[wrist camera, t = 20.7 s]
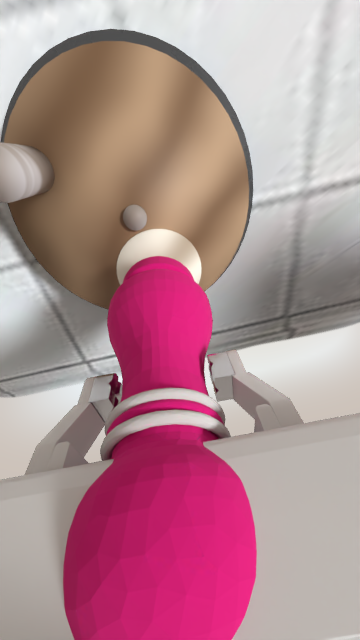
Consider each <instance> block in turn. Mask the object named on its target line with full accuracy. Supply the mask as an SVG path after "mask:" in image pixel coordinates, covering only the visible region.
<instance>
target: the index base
mask: <svg viewBox="0 0 360 640" xmlns="http://www.w3.org/2000/svg"><path fill="white" fill-rule="evenodd" d="M100 41H125V42H130V43H135V44H139V45H144V46H148V47H150V48H152V49H155V50H157V51H160V52H162V53H165V54H167V55H169V56H170V57H172V58H174V59H175V60H177V61H178V62H180V63H182V64H183V65H185V66H186V67H187V68H189V69H190V70H191V71H192V72H193V73H194V74H196V75H197V76H198V77H199V78H200V79H201V80H203V82H204V83H205V84H206V85H207V86H208V87H209V89H210V90H211V91H212V92H213V93H214V94H215V95H216V97H217V98H218V100H219V101H220V103H221V104H222V106H223V107H224V109H225V110H226V112H227V113H228V115H229V117H230V119H231V121H232V123H233V125H234V127H235V129H236V131H237V134H238V137H239V140H240V142H241V145H242V148H243V151H244V156H245V161H246V165H247V170H248V182H249V206H248V213H247V220H246V224H245V228H244V232H243V235H242V238H241V241H240V243H239V246H238V248H237V250H236V252H235V254H234V256H233V258H232V260H231V262H232V261H233V259H234V257H235V255H236V254H237V252H238V250H239V248H240V246H241V243H242V241H243V239H244V236H245V233H246V230H247V226H248V223H249V219H250V213H251V208H252V197H253V175H252V166H251V159H250V153H249V149H248V145H247V142H246V138H245V135H244V132H243V129H242V127H241V124H240V122H239V120H238V117H237V115H236V113H235V111H234V109H233V107H232V106H231V104H230V102H229V101H228V99H227V97H226V95H225V94H224V92H223V91H222V90H221V89H220V87H219V86H218V85H217V83H216V82H215V81H214V79H213V78H212V77H211V76H210V75H209V74H208V73H207V72H206V71H205V70H204V69H203V68H202V67H201V66H200V65H199V64H198V63H197V62H196V61H195V60H193V59H192V58H190V57H189V56H188V55H186V54H185V53H183V52H182V51H181V50H179V49H178V48H176V47H175V46H172V45H170V44H168V43H166V42H164V41H162V40H160V39H158V38H156V37H153V36H150V35H146V34H142V33H139V32H135V31H128V30H117V29H107V30H98V31H90V32H86V33H83V34H80V35H77V36H74V37H71V38H68V39H67V40H65V41H63V42H61V43H60V44H58V45H56V46H55V47H53V48H51V49H50V50H48V51H47V52H46V53H45V54H44V55H43V56H42V57H41V58H40V59H38V60H37V61H36V62H35V63H34V64H33V65H32V66H31V68H30V69H29V70H28V72H27V73H26V74H25V76H24V77H23V78H22V80H21V81H20V83H19V85H18V87H17V89H16V91H15V93H14V95H13V97H12V99H11V101H10V104H9V107H8V110H7V113H6V116H5V120H4V124H3V131H2V137H1V142H2V143H4V138H5V133H6V129H7V126H8V122H9V118H10V115H11V113H12V110H13V108H14V106H15V104H16V101H17V99H18V97H19V96H20V94H21V93H22V91H23V90H24V88H25V87H26V85H27V84H28V82H29V81H30V79H31V78H32V77H33V76H34V75H35V74H36V73H37V72H38V71H39V70H40V69H41V68H42V67H43V66H44V65H45V64H47V63H48V62H50V61H51V60H53V59H54V58H56V57H57V56H59V55H60V54H62V53H64V52H66V51H68V50H71V49H73V48H76V47H78V46H81V45H85V44H90V43H95V42H100ZM8 206H9V204H8ZM9 208H10V207H9ZM14 222H15V221H14ZM231 262H230V263H229V265H230V264H231ZM229 265H228V266H229ZM228 266H227V268H228ZM227 268H226V269H227ZM226 269H225V271H226ZM225 271H224V272H225ZM224 272H223V273H224ZM223 273H222V274H223ZM222 274H221V275H222ZM221 275H220V276H221ZM219 278H220V277H219ZM219 278H218V279H219ZM218 279H217V280H218ZM217 280H216V281H217ZM216 281H215V282H216ZM215 282H214V283H215ZM214 283H213V284H214ZM213 284H212V285H213Z"/></svg>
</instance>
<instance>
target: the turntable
mask: <svg viewBox="0 0 360 640" xmlns="http://www.w3.org/2000/svg"><path fill="white" fill-rule="evenodd" d="M0 202H3V203H8V204H9V207H10V211H11V214H12V216H13V219H14V221H15V224H16V226H17V228H18V231H19V232H20V234H21V236H22V238H23V240H24V242H25V243H26V245H27V247H28V248H29V250H30V251H31V252H32V254H33V255H34V257H35V258H36V260H37V261H38V262H39V263H40V264H41V265H42V267H43V268H44V269H45V270H46V271H47V272H48V273H49V274H50V275H51V276H52V277H53V278H54V279H55V280H56V281H57V282H59V283H60V284H61V285H63V286H64V287H65V288H66V289H68V290H69V291H71V292H72V293H74V294H75V295H77V296H79V297H80V298H82V299H84V300H86V301H88V302H90V303H92V304H95V305H98V306H100V307H103V308H106V309H109V306H110V302H111V299H112V297H113V295H114V294H115V292H116V290H117V289H118V288H119V286H120V285H121V284H122V283H123V280H124V277H125V275H126V273H127V272H128V271H129V269H130V268H131V267H132V266H133V265H134V264H136V263H137V262H139V261H140V260H142V259H145V258H148V257H153V256H164V257H169V258H172V259H175V260H177V261H179V262H181V263H182V264H183V265H184V266H185V267H187V269H188V270H189V271H190V272H191V274H192V276H193V278H194V281H195V282H196V283H197V284H199V286H200V287H201V288H202V289H203V291H205V290H207V289H208V288H209V287H210V286H211V285H212V284H213V283H214V282H215V281H216V280H217V279H218V278H219V277H220V275H221V274H222V273H223V272H224V271H225V269H226V268H227V266H228V265H229V263H230V262H231V260H232V258H233V256H234V254H235V252H236V250H237V248H238V246H239V243H240V241H241V238H242V235H243V232H244V228H245V224H246V220H247V213H248V206H249V182H248V170H247V165H246V161H245V156H244V151H243V148H242V145H241V142H240V140H239V137H238V134H237V131H236V129H235V127H234V125H233V123H232V121H231V119H230V117H229V115H228V113H227V112H226V110H225V109H224V107H223V106H222V104H221V103H220V101H219V100H218V98H217V97H216V95H215V94H214V93H213V92H212V91H211V90H210V89H209V87H208V86H207V85H206V84H205V83H204V82H203V80H201V79H200V78H199V77H198V76H197V75H196V74H194V73H193V72H192V71H191V70H190V69H189V68H187V67H186V66H185V65H183V64H182V63H180V62H178V61H177V60H175V59H174V58H172V57H170V56H169V55H167V54H165V53H162V52H160V51H157V50H155V49H152V48H150V47H148V46H144V45H139V44H135V43H130V42H125V41H100V42H95V43H90V44H85V45H81V46H78V47H76V48H73V49H71V50H68V51H66V52H64V53H62V54H60V55H59V56H57V57H56V58H54V59H53V60H51V61H50V62H48V63H47V64H45V65H44V66H43V67H42V68H41V69H40V70H39V71H38V72H37V73H36V74H35V75H34V76H33V77H32V78H31V79H30V81H29V82H28V84H27V85H26V87H25V88H24V90H23V91H22V93H21V94H20V96H19V97H18V99H17V101H16V104H15V106H14V108H13V110H12V113H11V115H10V118H9V122H8V126H7V129H6V133H5V138H4V143H2V142H0Z"/></svg>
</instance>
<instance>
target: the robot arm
mask: <svg viewBox="0 0 360 640" xmlns="http://www.w3.org/2000/svg"><path fill="white" fill-rule="evenodd" d="M207 357H208V363H209V370H210V376H211V380H212V383H213V385H214V391H215V395H216V399H217V401H222V400H228V399H234V400H235V401H236V402H237V403H238V404H239V405H240V406H241V407H242V408H243V409H244V410H245V411H246V412H248V413H249V414H250V415H251V416H252V417H253V418H254V419H255V429H254V433H250V434H244V435H239V436H234V437H228V438H223V439H217V440H212V441H206V442H203V445H204V447H206V448H207V449H209V450H210V451H212V452H213V453H215V454H216V455H217V456H219V457H220V458H221V459H222V460H224V461H225V462H226V463H227V464H228V465H229V466H230V467H231V468H232V469H233V470H234V472H235V473H236V474H237V475H238V476H239V478H240V479H241V481H242V483H243V486H244V488H245V491H246V494H247V496H248V499H249V503H250V506H251V510H252V515H253V520H254V525H255V535H256V549H257V560H256V579H255V583H254V587H253V590H252V594H251V598H250V602H249V605H248V608H247V611H246V614H245V617H244V619H243V621H242V623H241V625H240V627H239V628H238V630H237V632H236V633H235V635H234V637H233V638H232V640H360V413H357V414H352V415H347V416H341V417H335V418H330V419H325V420H320V421H314V422H309V423H303V421H302V419H301V418H300V416H299V414H298V412H297V410H296V409H295V407H294V405H293V403H292V402H291V400H290V399H289V398H288V397H286V396H285V395H283V394H282V393H280V392H279V391H277V390H276V389H274V388H273V387H271V386H269V385H268V384H266V383H265V382H263V381H262V380H260V379H259V378H257V377H256V376H254V375H252V374H251V373H249V372H248V373H246V371H245V369H244V366H243V364H242V362H241V359H240V357H239V355H238V353H237V351H236V350H230V351H226V352H220V353H215V354H211V355H207ZM121 398H122V384H121V383H120V382H118V376H117V374H116V373H113V374H107V375H101V376H96V377H90V378H87V379H86V380H85V382H84V386H83V389H82V392H81V395H80V398H79V401H78V405H76V406H74V407H73V408H72V409H71V410H70V411H69V412H68V413H67V414H66V415H65V416H64V417H63V419H62V420H61V421H60V422H59V423H58V424H57V425H56V426H55V427H54V428H53V429H52V430H51V431H50V432H49V433H48V435H47V436H46V437H45V438H44V439H43V440H42V441H41V442H40V443H39V444H38V445H37V447H36V449H35V451H34V453H33V456H32V458H31V461H30V463H29V466H28V468H27V470H26V473H25V475H24V476H18V477H13V478H7V479H2V480H0V640H74V637H73V635H72V632H71V629H70V626H69V623H68V620H67V617H66V613H65V607H64V590H63V565H64V557H65V550H66V544H67V538H68V533H69V530H70V527H71V524H72V521H73V518H74V515H75V512H76V510H77V507H78V505H79V503H80V502H81V500H82V498H83V496H84V495H85V493H86V491H87V490H88V488H89V487H90V486H91V485H92V484H93V483H94V482H95V480H96V479H97V478H98V477H99V476H100V475H101V474H102V473H103V472H104V471H105V470H106V469H107V468H108V467H109V466H110V465H111V464H112V463H113V460H114V459H110V460H104V461H99V462H94V463H88V462H87V461H86V460H85V459H84V456H85V455H86V453H87V452H88V450H89V448H90V447H91V445H92V444H93V442H94V441H95V439H96V438H97V436H98V434H99V433H100V431H101V430H102V428H103V427H104V425H105V422H106V420H107V417H108V416H109V414H110V412H111V411H112V410H113V409H114V408H115V407H116V406H117V405H118V404H119V403H120V402H121Z"/></svg>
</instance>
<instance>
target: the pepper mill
mask: <svg viewBox="0 0 360 640" xmlns="http://www.w3.org/2000/svg"><path fill="white" fill-rule="evenodd" d="M212 322H213V320H212V312H211V308H210V304H209V300H208V298H207V296H206V294H205V292H204V291H203V289H202V288H201V287H200V286H199V284H197V283H196V282H195V281H194V278H193V276H192V274H191V272H190V271H189V270H188V269H187V267H185V266H184V265H183V264H182V263H181V262H179V261H177V260H175V259H172V258H169V257H164V256H153V257H148V258H145V259H142V260H140V261H139V262H137V263H136V264H134V265H133V266H132V267H131V268H130V269H129V271H128V272H127V273H126V275H125V277H124V280H123V283H122V284H121V285H120V286H119V288H118V289H117V290H116V292H115V294H114V295H113V297H112V299H111V302H110V306H109V311H108V321H107V326H108V331H109V337H110V342H111V344H112V347H113V349H114V352H115V354H116V356H117V359H118V361H119V364H120V367H121V372H122V378H123V382H122V398H121V402H120V403H119V404H118V405H117V406H116V407H115V408H114V409H113V410H112V411H111V412H110V414H109V416H108V417H107V420H106V422H105V434H106V437H105V438H104V441H103V443H102V446H101V450H100V454H101V458H102V461H104V460H110V459H114V460H113V463H112V464H111V465H110V466H109V467H108V468H107V469H106V470H105V471H104V472H103V473H102V474H101V475H100V476H99V477H98V478H97V479H96V480H95V482H94V483H93V484H92V485H91V486H90V487H89V488H88V490H87V491H86V493H85V495H84V496H83V498H82V500H81V502H80V503H79V505H78V507H77V510H76V512H75V515H74V518H73V521H72V524H71V527H70V530H69V533H68V538H67V544H66V550H65V557H64V565H63V590H64V607H65V613H66V617H67V620H68V623H69V626H70V629H71V632H72V635H73V637H74V640H232V638H233V637H234V635H235V633H236V632H237V630H238V628H239V627H240V625H241V623H242V621H243V619H244V617H245V614H246V611H247V608H248V605H249V602H250V598H251V594H252V590H253V587H254V583H255V579H256V560H257V549H256V535H255V525H254V520H253V515H252V510H251V506H250V503H249V499H248V496H247V494H246V491H245V488H244V486H243V483H242V481H241V479H240V478H239V476H238V475H237V474H236V473H235V472H234V470H233V469H232V468H231V467H230V466H229V465H228V464H227V463H226V462H225V461H224V460H222V459H221V458H220V457H219V456H217V455H216V454H215V453H213V452H212V451H210V450H209V449H207V448H206V447H204V445H203V442H206V441H212V440H217V439H223V438H228V437H231V436H230V433H229V431H228V429H227V428H226V427H225V415H224V412H223V410H222V408H221V407H220V405H219V404H218V403H217V402H216V401H215V400H213V399H212V398H211V397H209V395H208V392H207V388H206V385H205V377H204V361H205V354H206V351H207V348H208V345H209V342H210V339H211V334H212Z"/></svg>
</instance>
